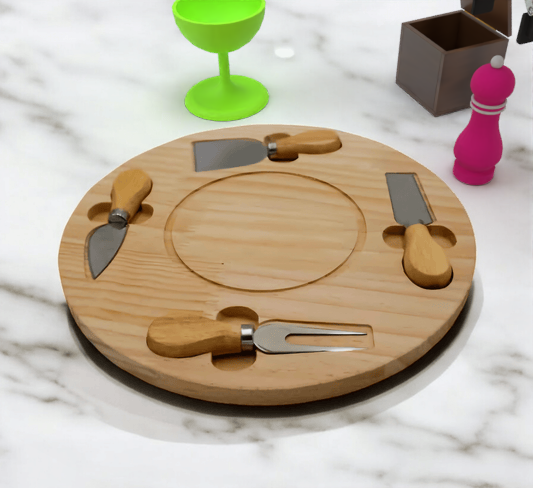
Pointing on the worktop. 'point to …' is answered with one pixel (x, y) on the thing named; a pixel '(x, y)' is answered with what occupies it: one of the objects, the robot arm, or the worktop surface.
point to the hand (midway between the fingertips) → (503, 26)
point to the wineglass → (222, 55)
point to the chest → (445, 59)
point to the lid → (495, 15)
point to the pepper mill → (483, 124)
